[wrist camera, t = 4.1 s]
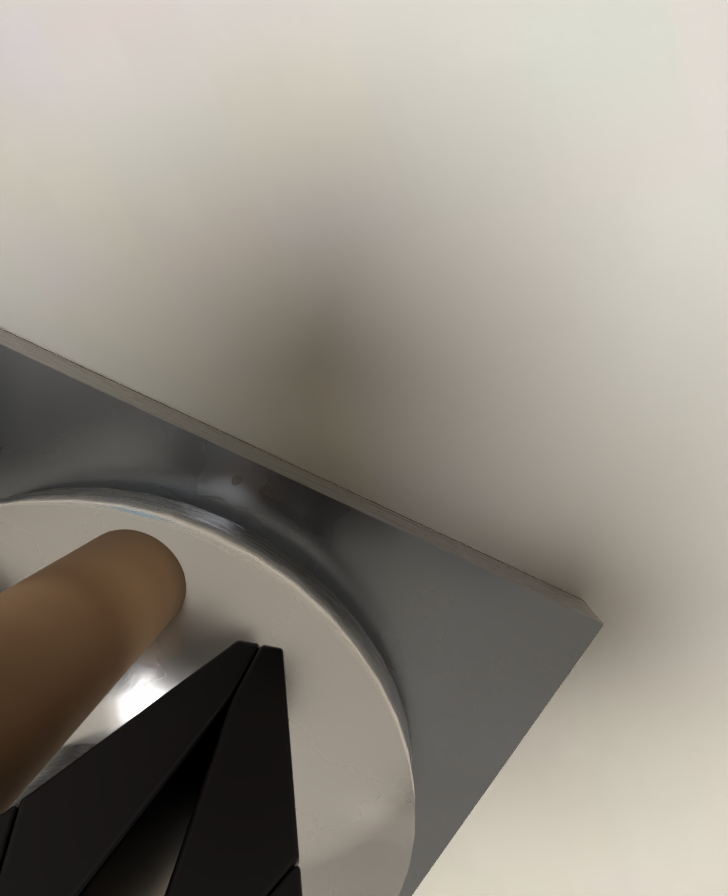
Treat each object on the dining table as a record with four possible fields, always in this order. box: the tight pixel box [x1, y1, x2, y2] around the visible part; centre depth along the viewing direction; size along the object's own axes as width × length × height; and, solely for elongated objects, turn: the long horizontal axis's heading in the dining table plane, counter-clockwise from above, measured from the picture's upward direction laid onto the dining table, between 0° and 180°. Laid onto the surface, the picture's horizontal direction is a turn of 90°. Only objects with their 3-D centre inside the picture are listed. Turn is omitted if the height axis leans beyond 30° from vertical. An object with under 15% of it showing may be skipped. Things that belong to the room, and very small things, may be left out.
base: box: [0, 329, 603, 896], centre depth 10 cm, size 19×19×4 cm
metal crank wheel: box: [0, 488, 415, 896], centre depth 8 cm, size 16×18×5 cm
